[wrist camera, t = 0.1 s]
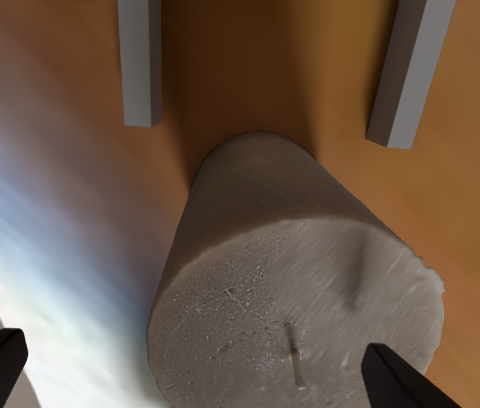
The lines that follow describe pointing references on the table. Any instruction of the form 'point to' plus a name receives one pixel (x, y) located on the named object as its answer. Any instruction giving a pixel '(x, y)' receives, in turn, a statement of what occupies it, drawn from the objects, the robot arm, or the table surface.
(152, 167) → the table surface
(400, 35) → the bay
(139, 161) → the table surface
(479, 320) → the table surface
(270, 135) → the pillar candle
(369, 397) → the robot arm
